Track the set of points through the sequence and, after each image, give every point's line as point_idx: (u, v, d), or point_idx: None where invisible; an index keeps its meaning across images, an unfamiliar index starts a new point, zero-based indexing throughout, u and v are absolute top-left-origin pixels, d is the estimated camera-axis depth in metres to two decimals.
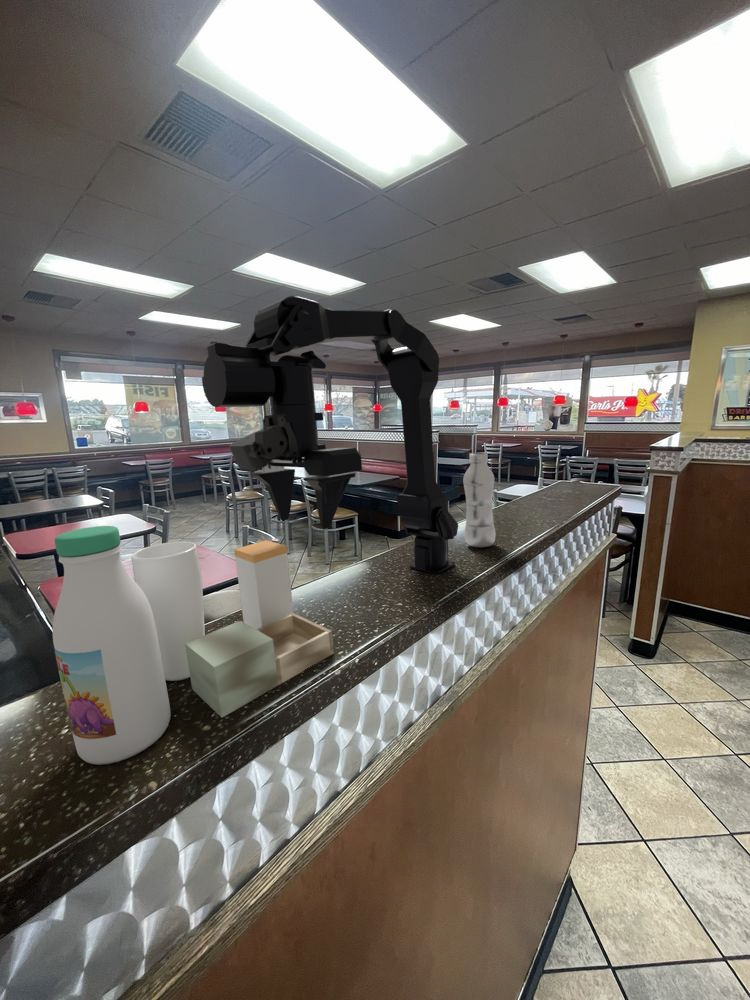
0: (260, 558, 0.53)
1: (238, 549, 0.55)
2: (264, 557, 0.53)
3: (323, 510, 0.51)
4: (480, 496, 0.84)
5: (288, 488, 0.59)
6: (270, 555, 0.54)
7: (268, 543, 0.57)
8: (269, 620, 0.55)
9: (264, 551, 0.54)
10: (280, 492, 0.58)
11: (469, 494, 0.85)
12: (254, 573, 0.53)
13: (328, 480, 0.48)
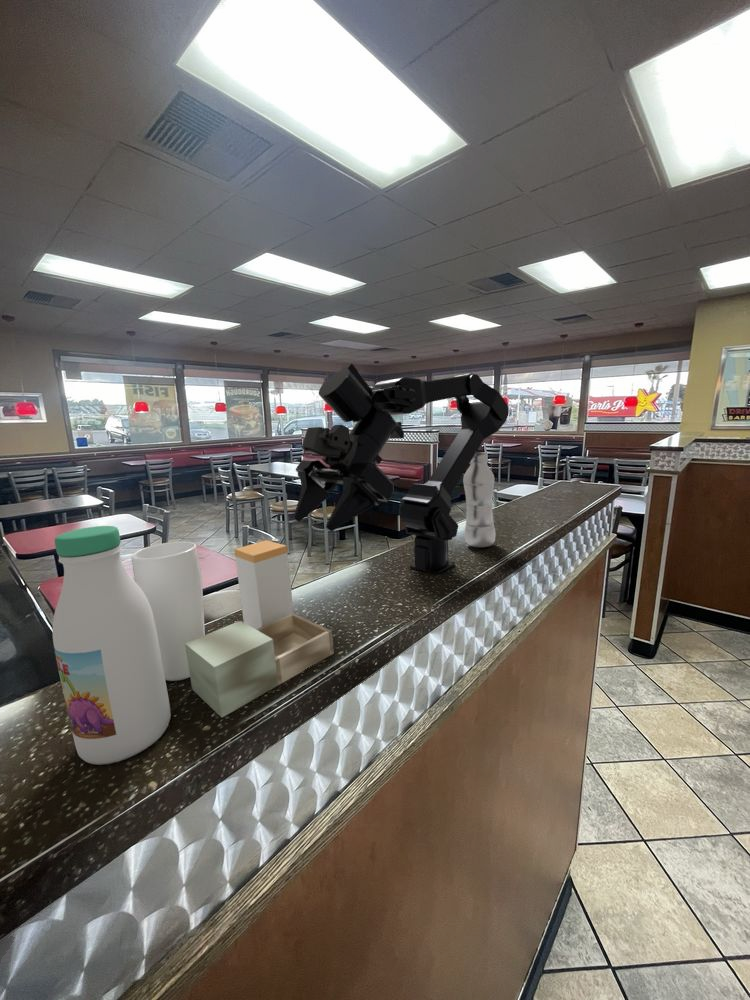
0: (260, 558, 0.53)
1: (238, 549, 0.55)
2: (264, 557, 0.53)
3: (338, 511, 0.56)
4: (480, 496, 0.84)
5: (316, 502, 0.66)
6: (270, 555, 0.54)
7: (268, 543, 0.57)
8: (269, 620, 0.55)
9: (264, 551, 0.54)
10: (309, 498, 0.65)
11: (469, 494, 0.85)
12: (254, 573, 0.53)
13: (360, 485, 0.55)
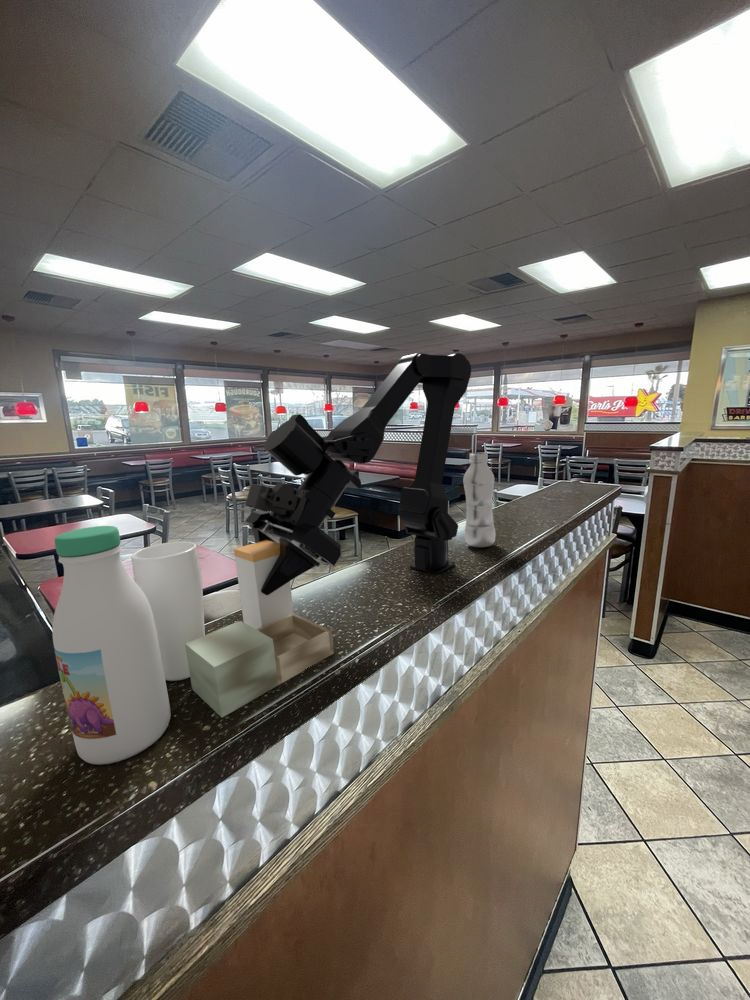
0: (260, 557, 0.53)
1: (238, 549, 0.56)
2: (264, 556, 0.54)
3: (273, 574, 0.53)
4: (480, 496, 0.84)
5: None
6: (270, 555, 0.54)
7: (268, 543, 0.57)
8: (269, 620, 0.55)
9: (264, 550, 0.54)
10: None
11: (469, 494, 0.85)
12: (253, 572, 0.53)
13: (295, 548, 0.52)
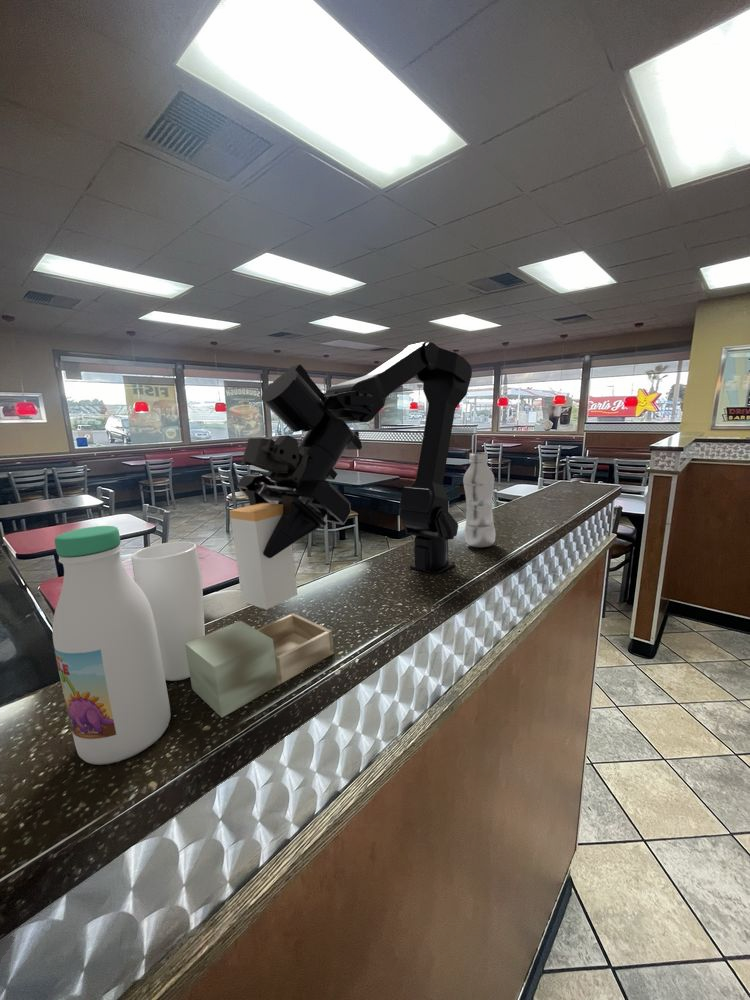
0: (261, 516, 0.49)
1: (234, 510, 0.51)
2: (265, 516, 0.49)
3: (277, 535, 0.49)
4: (480, 496, 0.84)
5: None
6: (271, 514, 0.50)
7: (266, 504, 0.53)
8: (272, 586, 0.51)
9: (265, 509, 0.50)
10: None
11: (469, 494, 0.85)
12: (254, 533, 0.49)
13: (302, 505, 0.48)
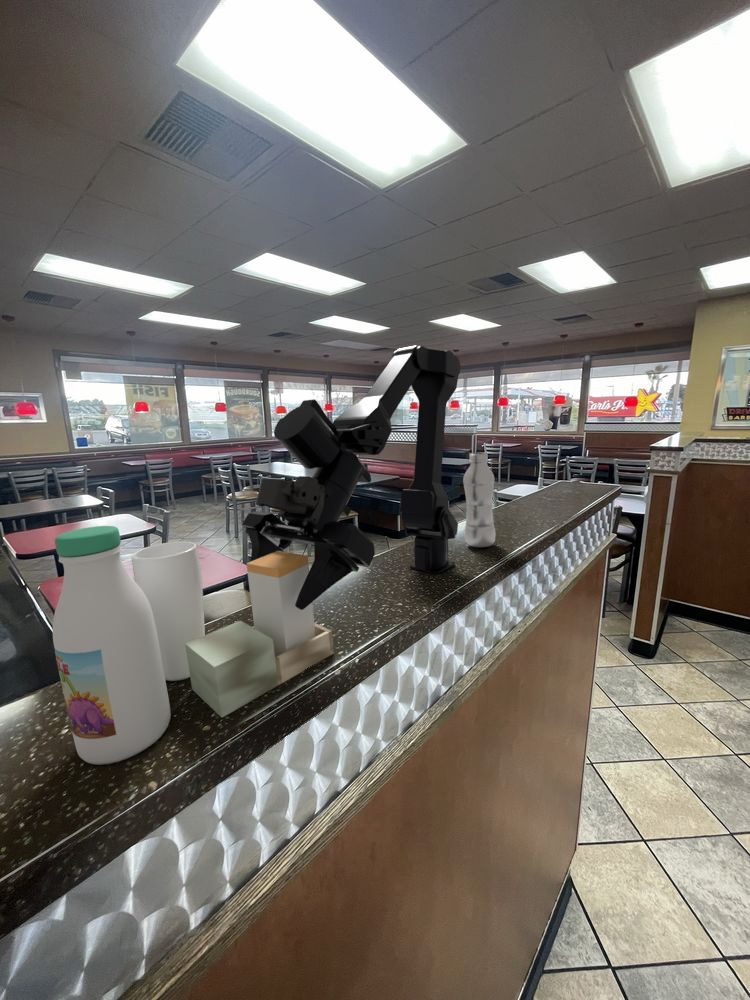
0: (284, 572, 0.46)
1: (252, 563, 0.48)
2: (288, 570, 0.46)
3: (310, 584, 0.45)
4: (480, 496, 0.84)
5: None
6: (293, 568, 0.47)
7: (283, 554, 0.50)
8: (293, 642, 0.48)
9: (286, 563, 0.47)
10: None
11: (469, 494, 0.85)
12: (277, 589, 0.46)
13: (338, 552, 0.45)
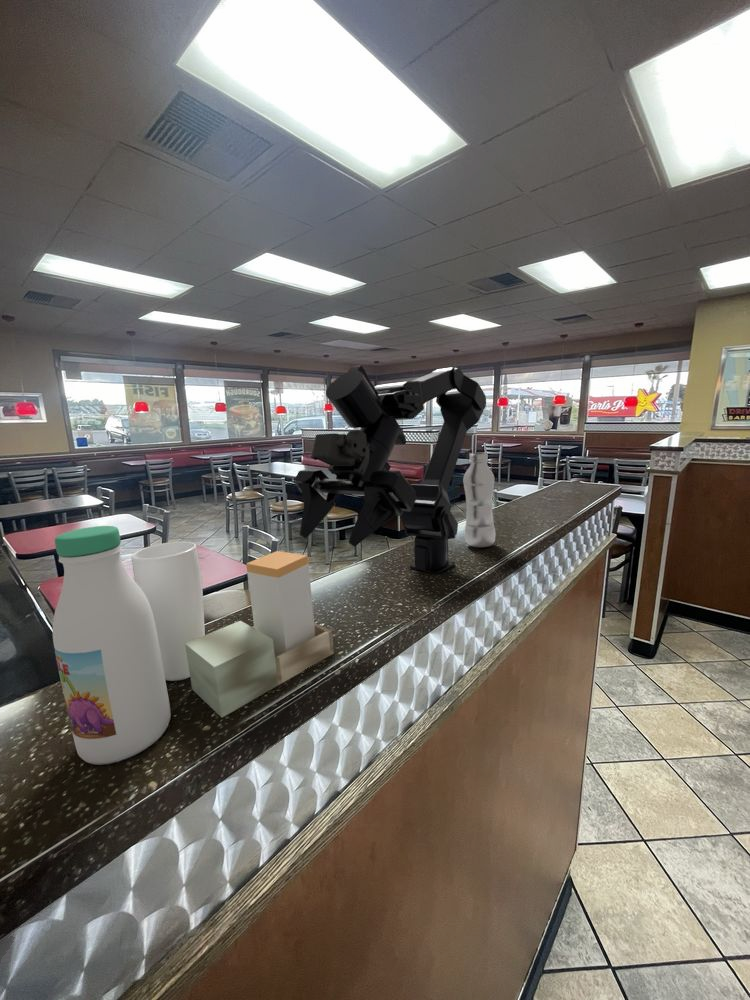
0: (284, 572, 0.46)
1: (252, 563, 0.48)
2: (287, 570, 0.46)
3: (361, 524, 0.52)
4: (480, 496, 0.84)
5: (320, 516, 0.60)
6: (293, 568, 0.47)
7: (283, 554, 0.50)
8: (293, 642, 0.48)
9: (286, 563, 0.47)
10: (314, 512, 0.59)
11: (469, 494, 0.85)
12: (277, 589, 0.46)
13: (386, 495, 0.51)
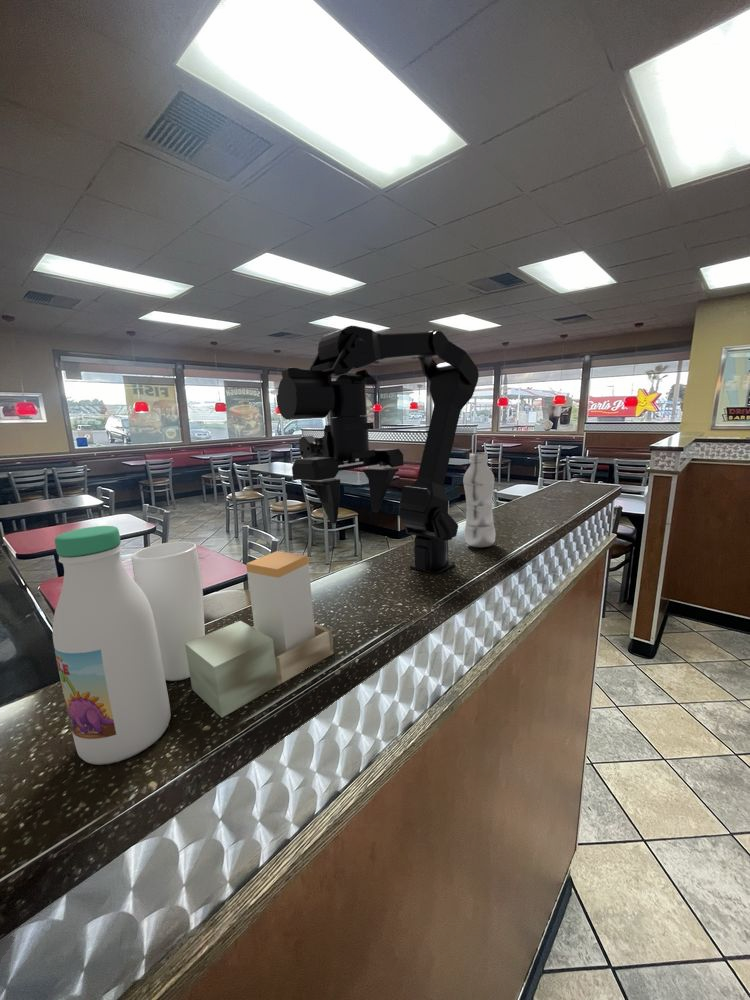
0: (284, 572, 0.46)
1: (252, 563, 0.48)
2: (287, 570, 0.46)
3: (323, 506, 0.62)
4: (480, 496, 0.84)
5: (381, 486, 0.67)
6: (293, 568, 0.47)
7: (283, 554, 0.50)
8: (293, 642, 0.48)
9: (286, 563, 0.47)
10: (374, 487, 0.68)
11: (469, 494, 0.85)
12: (277, 589, 0.46)
13: (304, 482, 0.60)
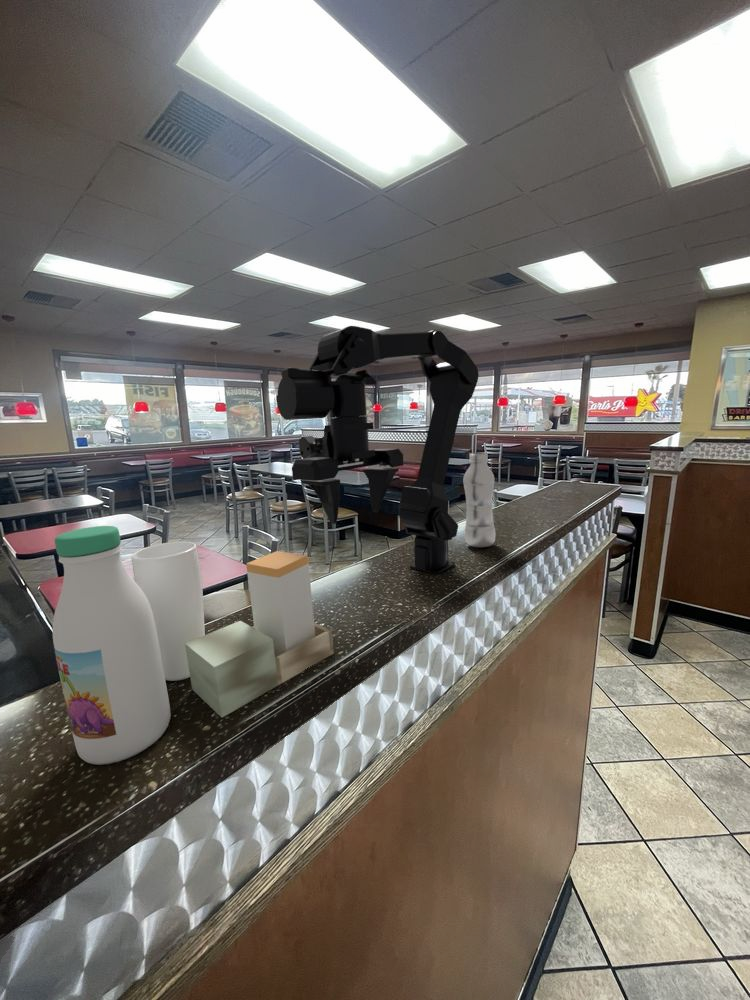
0: (284, 572, 0.46)
1: (252, 563, 0.48)
2: (287, 570, 0.46)
3: (323, 507, 0.62)
4: (480, 496, 0.84)
5: (381, 486, 0.67)
6: (293, 568, 0.47)
7: (283, 554, 0.50)
8: (293, 642, 0.48)
9: (286, 563, 0.47)
10: (373, 487, 0.68)
11: (469, 494, 0.85)
12: (277, 589, 0.46)
13: (303, 482, 0.60)
